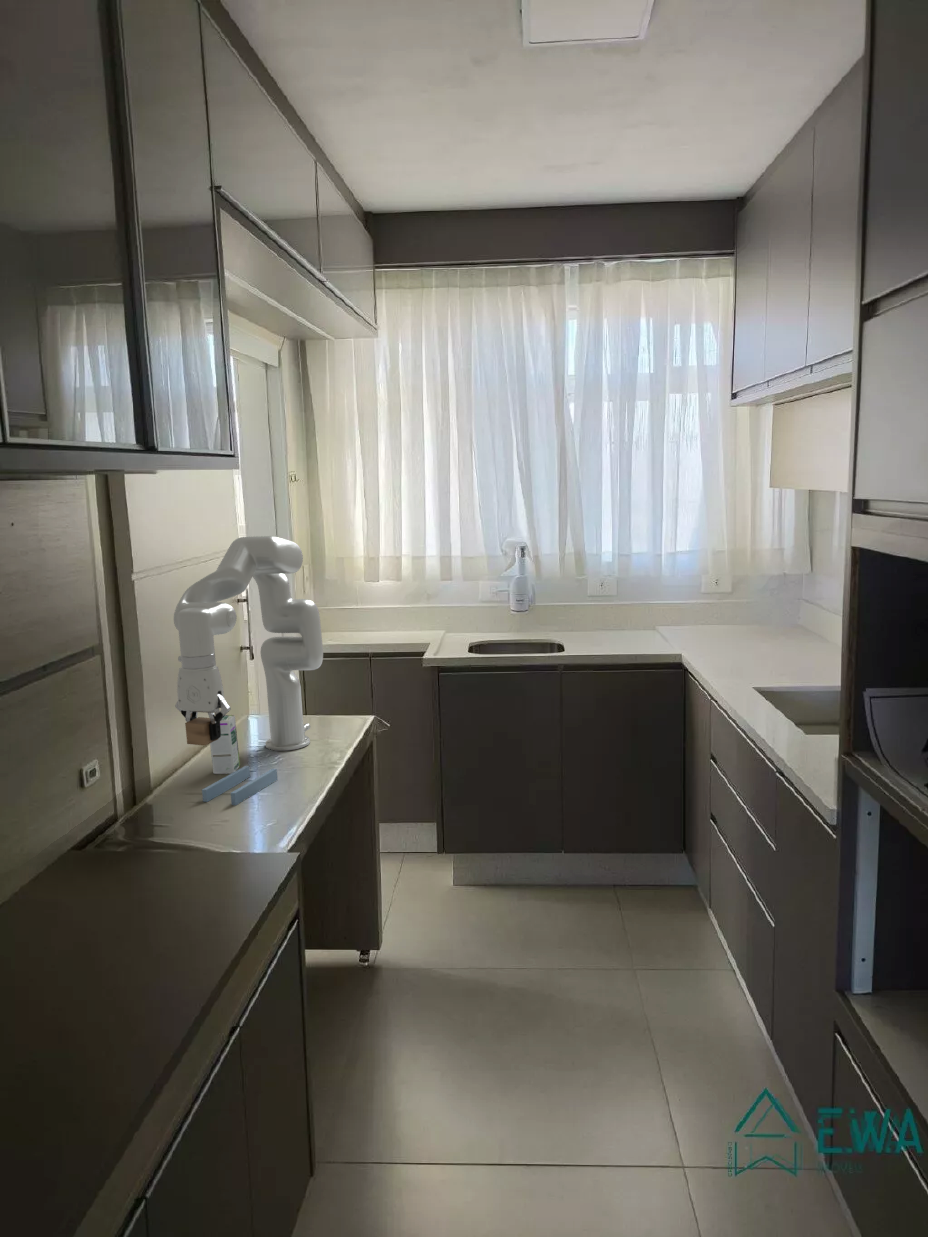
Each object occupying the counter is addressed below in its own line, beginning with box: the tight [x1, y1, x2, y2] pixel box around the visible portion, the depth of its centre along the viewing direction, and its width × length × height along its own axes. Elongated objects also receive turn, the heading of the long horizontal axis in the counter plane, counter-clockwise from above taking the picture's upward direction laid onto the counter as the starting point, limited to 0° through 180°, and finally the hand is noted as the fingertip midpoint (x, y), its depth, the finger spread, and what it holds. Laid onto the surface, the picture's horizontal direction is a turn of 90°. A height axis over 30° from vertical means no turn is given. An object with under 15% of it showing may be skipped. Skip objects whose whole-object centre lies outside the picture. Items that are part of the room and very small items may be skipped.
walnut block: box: [184, 716, 218, 747], centre depth 207 cm, size 5×5×5 cm
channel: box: [201, 765, 278, 806], centre depth 222 cm, size 18×9×3 cm, turn 159°
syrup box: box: [209, 714, 241, 775], centre depth 237 cm, size 6×6×14 cm
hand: (205, 737), depth 209 cm, fingers closed on walnut block, 5 cm apart
